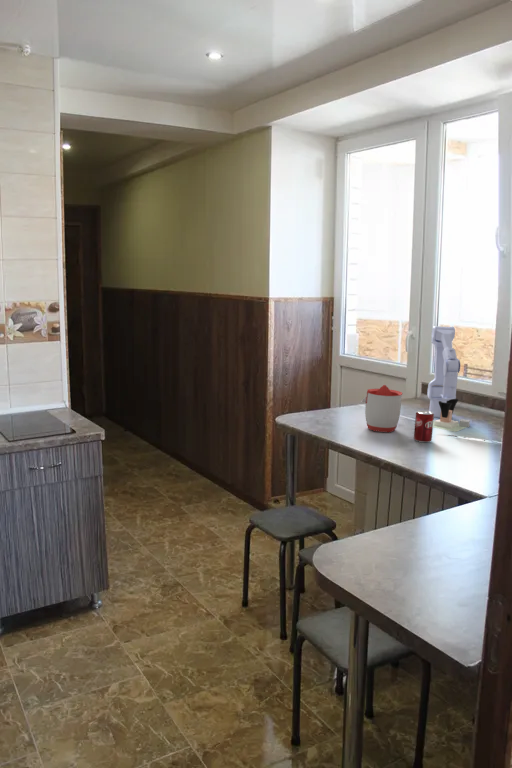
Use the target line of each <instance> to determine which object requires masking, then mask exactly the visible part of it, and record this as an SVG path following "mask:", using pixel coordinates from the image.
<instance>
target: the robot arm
mask: <svg viewBox="0 0 512 768" xmlns="http://www.w3.org/2000/svg"><path fill="white" fill-rule="evenodd" d="M455 335H456V329H455V326H441V325H440V326H438V325H433V327H432V330H431V343H432V344H433V345H434V348H435V353H434V354H435V356H434V378H433V379H432V380H430V382H428V385H427V389H426V390H427V391H426V392H427V393H426V394H427V395H426V396H427V397H428V399H429V409H428V411H429V412H432V413H433V414H434V418H439V419H440V416H441V414H442V417H444V418H447V416H448V413H449V410H452V415H453V414H454V410H455V408H456V405H457V404H458V402H459V399H457V386H458V375H459V373H460V371H461V361H460V359H459V358H458V357H457V352H456V349H455V348H453V340H454V339H455V337H456V336H455Z"/></svg>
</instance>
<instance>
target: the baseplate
mask: <svg viewBox="0 0 512 768" xmlns="http://www.w3.org/2000/svg"><path fill="white" fill-rule="evenodd" d="M436 420H437V419H434V420H433V429H434V428H435V429H440V430H444V431H449V432H455V433H457V432H459V431H461V430H465V429H468V427H462V426H459V424H458V426H456V427H454V428H445V427H440V426H435V425H434V421H436Z"/></svg>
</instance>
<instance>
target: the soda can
mask: <svg viewBox="0 0 512 768" xmlns="http://www.w3.org/2000/svg"><path fill="white" fill-rule="evenodd" d="M434 418H435V417H434V414H433V413H432V412H429V410H417V411H415V418H414V430H413V440H414V441H415V440H416V441H415V442H418V441H419V442H418V443H423V442H428V443H431V442H430V441H432V440H433V439H432V438H433V429H434V427H433V421H435V419H434Z"/></svg>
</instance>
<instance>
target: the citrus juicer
mask: <svg viewBox="0 0 512 768" xmlns="http://www.w3.org/2000/svg"><path fill="white" fill-rule="evenodd" d="M402 396H403V392H402V391H399V390H394V389H390V388H389V387H388V386H387V385H386V384H383V385H382V386H381V387H379V388H370V389H369V388H368V389H367V392H366V396H365V397H363V398H362V399H361V401H360V403H365V406H364V407H365V409H364V414H365V415H364V416H365V421H366V422H365V423H366V426H367V429H369V430H370V431H372V430H373V431H372V432H379V433H389V432H390V433H391V432H395V430H396V429H397V426H398V423H399V421H400V417H401V409H402V408H401V407H402Z"/></svg>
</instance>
